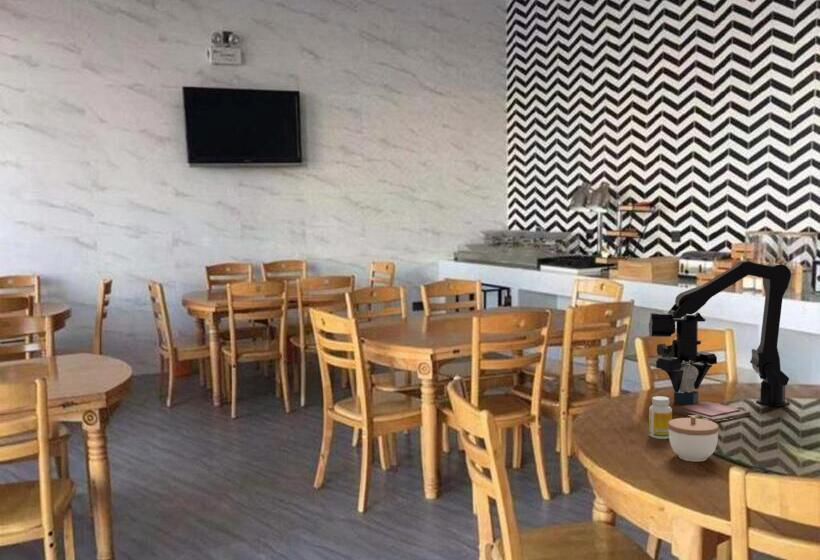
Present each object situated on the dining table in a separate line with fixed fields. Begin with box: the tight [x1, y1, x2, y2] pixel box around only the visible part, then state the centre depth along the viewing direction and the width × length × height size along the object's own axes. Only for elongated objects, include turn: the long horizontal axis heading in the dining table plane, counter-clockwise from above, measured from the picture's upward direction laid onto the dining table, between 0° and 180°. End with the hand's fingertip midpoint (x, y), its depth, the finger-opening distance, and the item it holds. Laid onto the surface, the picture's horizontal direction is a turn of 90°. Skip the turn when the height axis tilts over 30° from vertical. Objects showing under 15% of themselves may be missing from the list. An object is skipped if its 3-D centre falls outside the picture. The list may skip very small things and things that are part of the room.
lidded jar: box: [668, 416, 720, 463], centre depth 177 cm, size 11×11×9 cm
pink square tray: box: [671, 401, 751, 421], centre depth 214 cm, size 14×14×1 cm
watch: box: [673, 364, 699, 406], centre depth 226 cm, size 6×8×11 cm
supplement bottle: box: [648, 395, 673, 440], centre depth 194 cm, size 5×5×10 cm
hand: (686, 390), depth 226 cm, fingers closed on watch, 7 cm apart
